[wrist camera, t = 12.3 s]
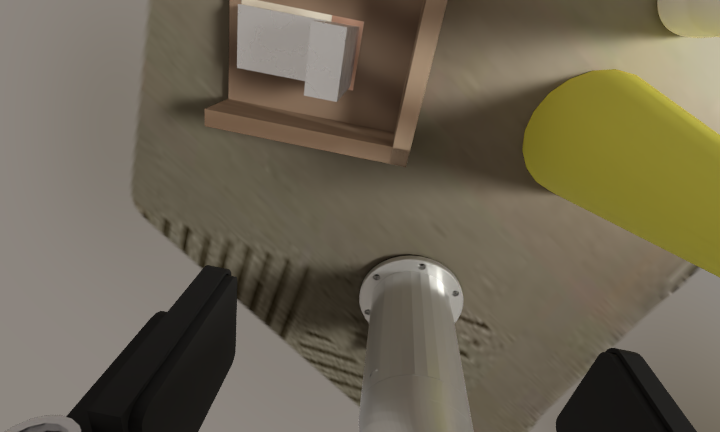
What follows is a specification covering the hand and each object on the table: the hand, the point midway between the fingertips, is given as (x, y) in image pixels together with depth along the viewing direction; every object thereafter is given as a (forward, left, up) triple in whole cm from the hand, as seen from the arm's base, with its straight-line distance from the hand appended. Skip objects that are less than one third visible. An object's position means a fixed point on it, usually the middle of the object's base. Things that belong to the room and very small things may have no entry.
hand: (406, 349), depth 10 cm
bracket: (+4, +10, -29) cm, 31 cm away
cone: (+1, -18, -30) cm, 35 cm away
